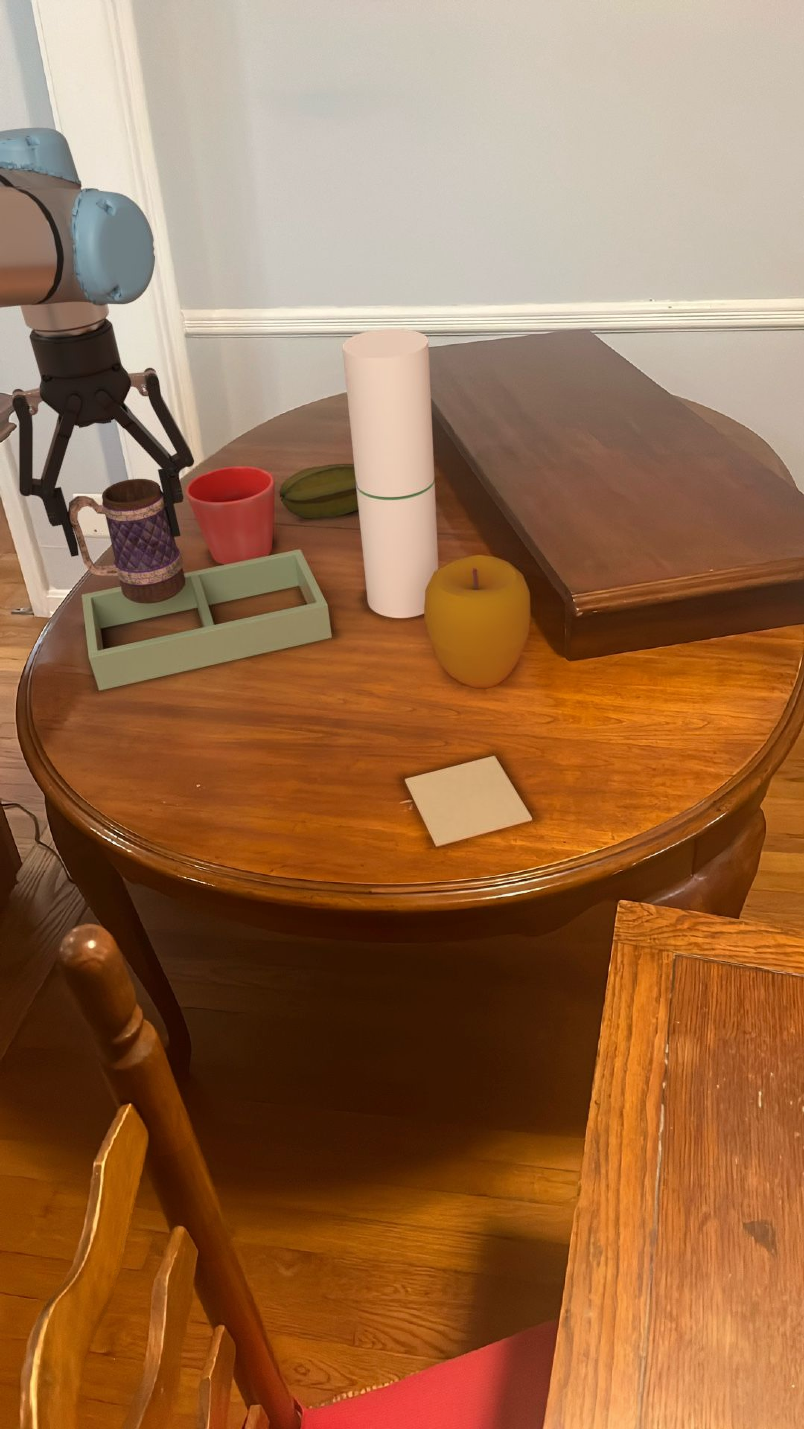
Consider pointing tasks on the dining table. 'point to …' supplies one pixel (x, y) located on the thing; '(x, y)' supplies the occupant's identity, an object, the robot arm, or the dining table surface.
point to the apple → (478, 619)
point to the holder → (207, 621)
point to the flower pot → (234, 512)
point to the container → (393, 466)
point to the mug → (136, 540)
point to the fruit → (321, 491)
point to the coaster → (467, 800)
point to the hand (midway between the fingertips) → (125, 540)
